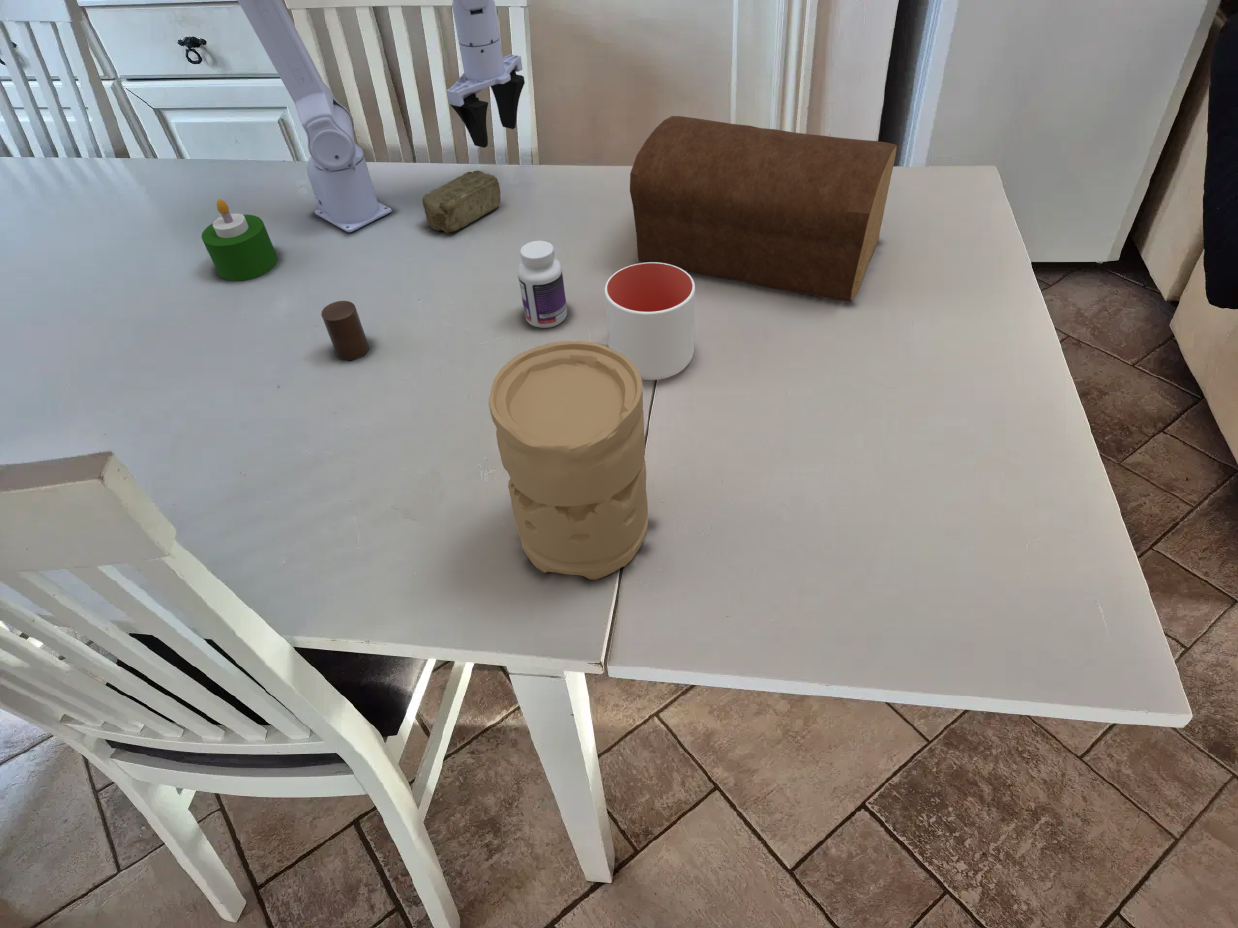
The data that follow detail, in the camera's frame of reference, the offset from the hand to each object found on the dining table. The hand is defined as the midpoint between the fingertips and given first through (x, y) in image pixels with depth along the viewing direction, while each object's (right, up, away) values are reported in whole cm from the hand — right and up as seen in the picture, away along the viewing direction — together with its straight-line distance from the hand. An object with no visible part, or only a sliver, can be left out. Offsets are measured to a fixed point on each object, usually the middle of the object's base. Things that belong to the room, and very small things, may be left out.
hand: (495, 136), depth 121 cm
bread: (+37, -20, -10) cm, 44 cm away
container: (+15, -55, -42) cm, 72 cm away
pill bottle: (+9, -30, -18) cm, 37 cm away
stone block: (-5, -12, +1) cm, 13 cm away
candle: (-34, -21, -5) cm, 41 cm away
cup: (+22, -37, -25) cm, 50 cm away
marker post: (-14, -35, -21) cm, 43 cm away
